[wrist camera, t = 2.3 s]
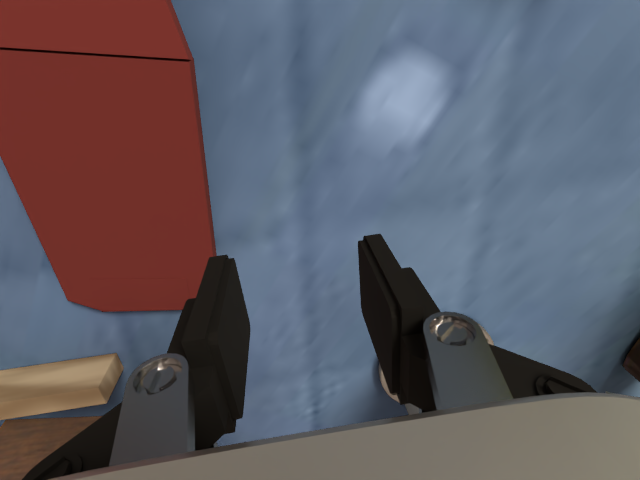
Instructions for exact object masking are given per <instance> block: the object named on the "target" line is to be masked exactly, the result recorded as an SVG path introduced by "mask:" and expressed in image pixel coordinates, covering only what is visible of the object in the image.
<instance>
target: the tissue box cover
mask: <svg viewBox="0 0 640 480" xmlns="http://www.w3.org/2000/svg"><path fill="white" fill-rule="evenodd" d="M101 417H102V416H93V417H68V418H43V419H18V420H5V422H4V423H3V424H2V426H1V427H0V480H22V479H23V478H24V476H25V475H26V474H27V473H28V472H29V471H30V470H31V469H32V468H33V467H34V466H36V465H37V464H38V463H39V462H40V461H42V460H43V459H44V458H46V457H47V456H48V455H50V454H51V453H53V452H54V451H55V450H57V449H58V448H59V447H61V446H62V445H64V444H65V443H66V442H68V441H69V440H70V439H72V438H73V437H75V436H76V435H77V434H79V433H80V432H81V431H83V430H84V429H86V428H87V427H88V426H90V425H91V424H92V423H94V422H95V421H97V420H98V419H99V418H101Z"/></svg>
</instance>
